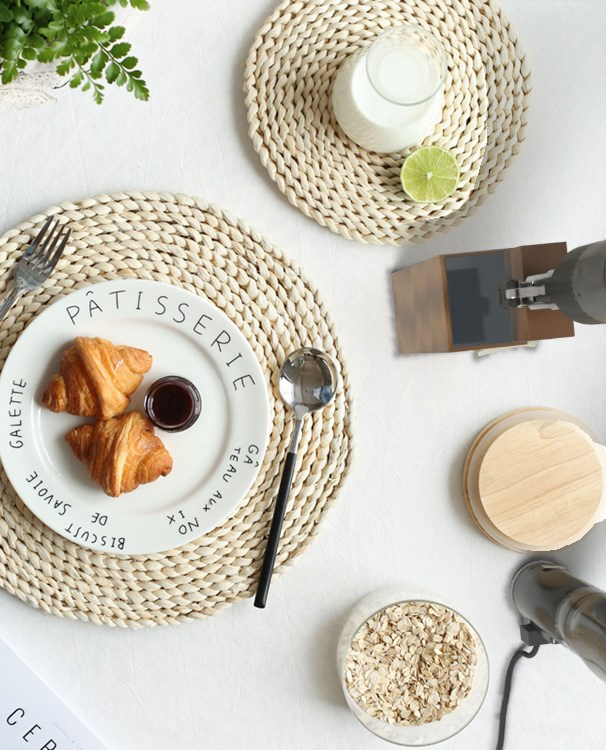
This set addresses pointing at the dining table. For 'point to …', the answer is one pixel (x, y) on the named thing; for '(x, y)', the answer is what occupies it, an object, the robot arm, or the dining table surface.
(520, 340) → the brown wooden block
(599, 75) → the dining table surface
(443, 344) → the stand
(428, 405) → the dining table surface
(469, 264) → the pad
